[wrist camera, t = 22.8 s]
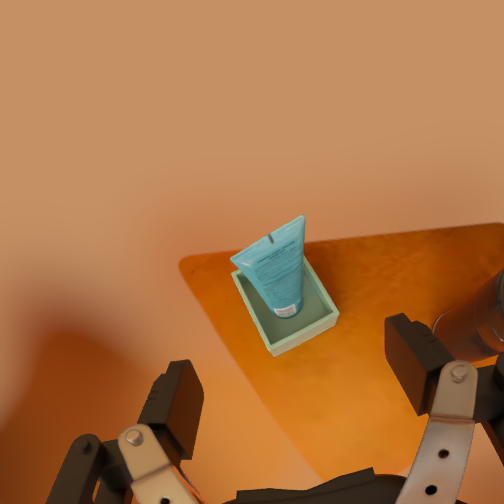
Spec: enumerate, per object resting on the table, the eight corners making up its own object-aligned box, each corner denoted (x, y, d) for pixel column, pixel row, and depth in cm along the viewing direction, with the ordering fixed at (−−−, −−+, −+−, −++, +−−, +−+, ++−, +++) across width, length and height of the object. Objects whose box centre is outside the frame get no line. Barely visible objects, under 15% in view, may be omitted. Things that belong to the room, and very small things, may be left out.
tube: (295, 276, 43) (285, 196, 27) (316, 300, 41) (321, 231, 24) (255, 306, 42) (218, 243, 26) (274, 331, 40) (249, 283, 23)
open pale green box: (297, 261, 48) (295, 240, 42) (335, 325, 42) (339, 313, 36) (240, 289, 47) (230, 273, 41) (274, 357, 41) (268, 351, 35)
